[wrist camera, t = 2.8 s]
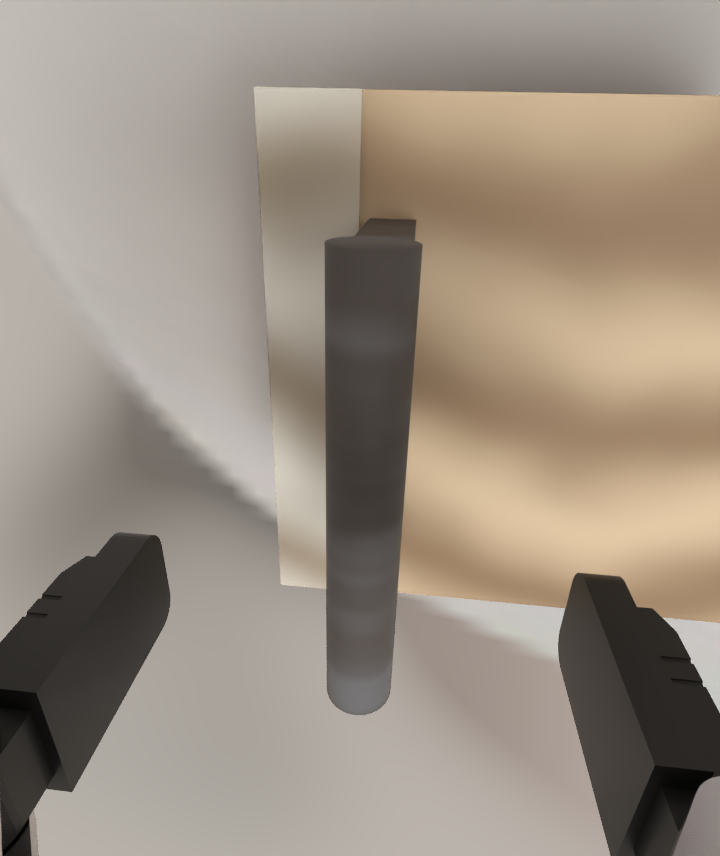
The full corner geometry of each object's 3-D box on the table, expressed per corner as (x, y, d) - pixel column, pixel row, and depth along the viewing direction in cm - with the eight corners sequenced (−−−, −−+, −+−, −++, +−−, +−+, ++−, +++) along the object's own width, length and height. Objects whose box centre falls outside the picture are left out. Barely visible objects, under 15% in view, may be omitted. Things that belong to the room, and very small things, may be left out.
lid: (265, 90, 16) (110, 32, 8) (925, 102, 15) (1513, 45, 7) (287, 565, 24) (220, 765, 16) (712, 604, 23) (864, 845, 15)
